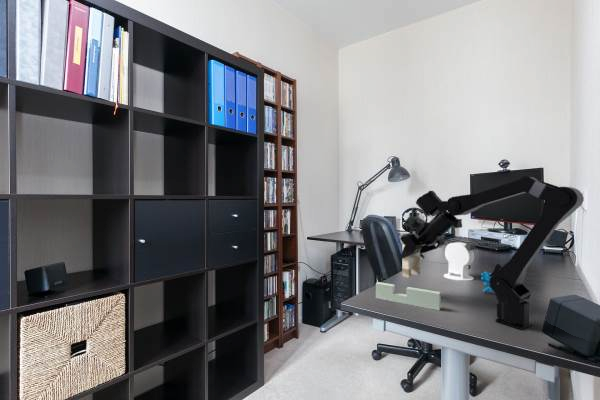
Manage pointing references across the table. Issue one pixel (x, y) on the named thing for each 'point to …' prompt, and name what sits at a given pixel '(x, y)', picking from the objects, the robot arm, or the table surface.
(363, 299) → the table surface
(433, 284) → the table surface
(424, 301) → the sage slotted plate
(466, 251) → the white bracket stand
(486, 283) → the blue lumpy piece
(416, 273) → the ash notched plate
